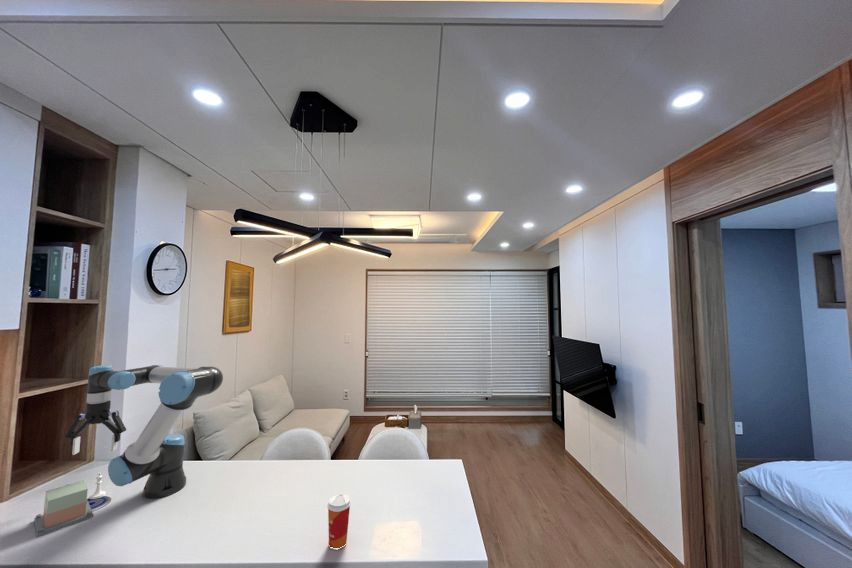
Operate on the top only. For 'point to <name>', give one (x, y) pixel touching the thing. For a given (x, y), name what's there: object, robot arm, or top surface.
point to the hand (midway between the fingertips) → (95, 451)
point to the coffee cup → (338, 520)
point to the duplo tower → (63, 508)
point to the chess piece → (98, 488)
